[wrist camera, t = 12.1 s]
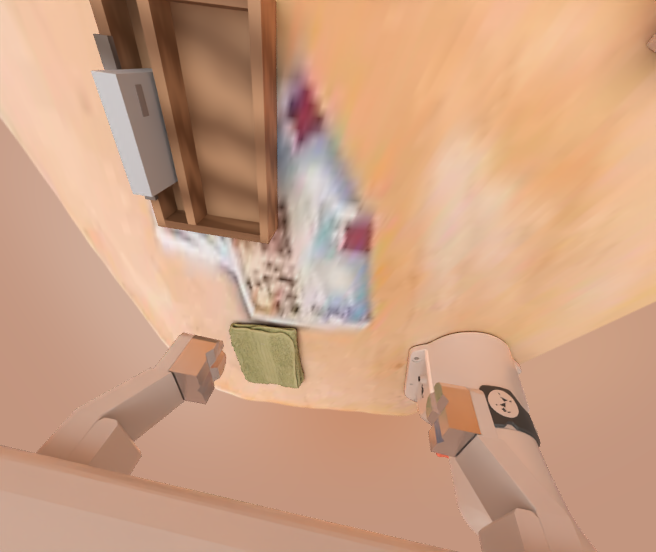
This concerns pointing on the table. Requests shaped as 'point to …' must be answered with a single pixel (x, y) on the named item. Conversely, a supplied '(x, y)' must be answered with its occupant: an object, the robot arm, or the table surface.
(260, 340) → the washcloth
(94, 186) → the table surface
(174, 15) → the wooden tray
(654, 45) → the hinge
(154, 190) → the rectangular block
